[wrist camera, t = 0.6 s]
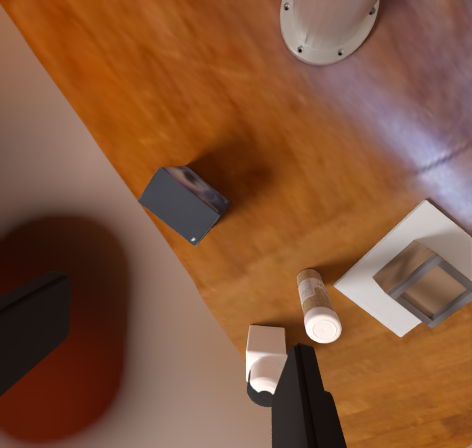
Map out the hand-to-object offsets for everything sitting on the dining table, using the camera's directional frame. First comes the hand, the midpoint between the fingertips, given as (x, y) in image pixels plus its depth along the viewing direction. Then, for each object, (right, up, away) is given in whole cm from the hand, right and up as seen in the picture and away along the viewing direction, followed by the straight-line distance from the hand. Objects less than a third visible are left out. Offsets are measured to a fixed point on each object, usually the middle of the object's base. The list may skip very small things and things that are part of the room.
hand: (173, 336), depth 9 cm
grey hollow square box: (+33, -4, +31) cm, 45 cm away
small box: (-4, +10, +33) cm, 34 cm away
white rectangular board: (+33, -4, +31) cm, 45 cm away
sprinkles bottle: (+16, -6, +34) cm, 38 cm away
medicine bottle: (+9, -19, +39) cm, 45 cm away
